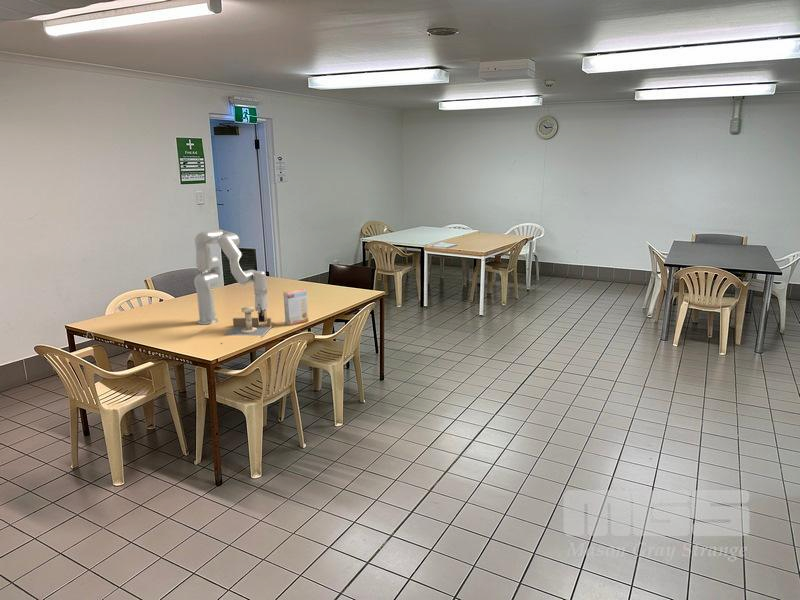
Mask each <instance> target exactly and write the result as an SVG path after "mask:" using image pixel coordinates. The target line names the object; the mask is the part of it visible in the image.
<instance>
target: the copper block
mask: <svg viewBox="0 0 800 600" xmlns="http://www.w3.org/2000/svg"><path fill="white" fill-rule="evenodd" d="M263 315H264V322H263V323H267V318H268V315H267V309H266V310H263ZM257 318H258V320H259V316H257Z"/></svg>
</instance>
